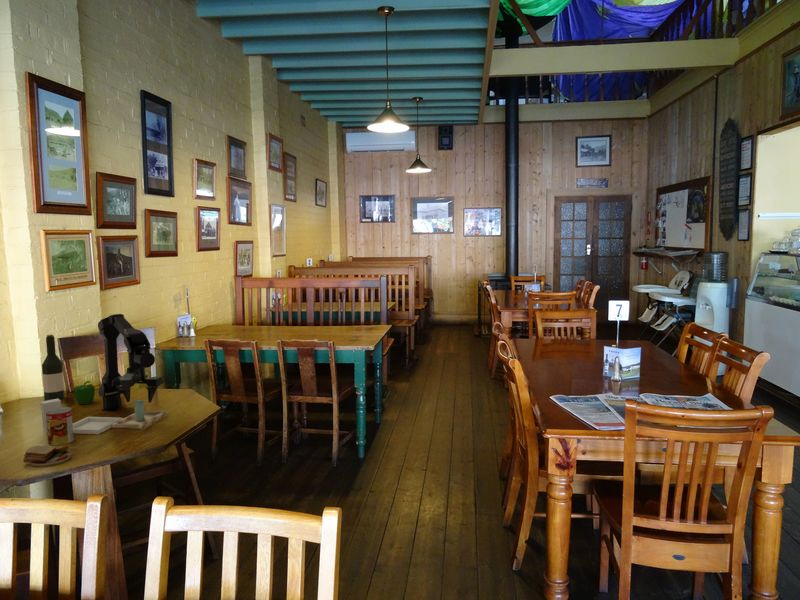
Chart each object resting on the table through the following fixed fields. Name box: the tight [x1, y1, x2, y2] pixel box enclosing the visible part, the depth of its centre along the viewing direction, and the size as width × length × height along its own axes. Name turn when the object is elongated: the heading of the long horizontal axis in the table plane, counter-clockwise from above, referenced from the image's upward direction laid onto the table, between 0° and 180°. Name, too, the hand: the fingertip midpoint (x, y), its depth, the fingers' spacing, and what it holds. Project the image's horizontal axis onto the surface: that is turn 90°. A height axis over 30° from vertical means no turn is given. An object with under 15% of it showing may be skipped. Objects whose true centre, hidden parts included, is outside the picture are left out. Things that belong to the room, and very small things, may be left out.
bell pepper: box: [73, 380, 96, 405], centre depth 255 cm, size 8×8×10 cm
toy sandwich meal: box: [22, 443, 73, 468], centre depth 188 cm, size 12×14×5 cm
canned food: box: [46, 406, 74, 447], centre depth 204 cm, size 8×8×12 cm
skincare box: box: [40, 399, 62, 434], centre depth 217 cm, size 6×4×12 cm
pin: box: [133, 399, 145, 422], centre depth 227 cm, size 3×3×8 cm
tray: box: [111, 410, 167, 430], centre depth 227 cm, size 18×12×2 cm, turn 172°
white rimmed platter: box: [72, 416, 123, 435], centre depth 220 cm, size 15×15×2 cm
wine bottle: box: [41, 334, 66, 401], centre depth 261 cm, size 8×8×30 cm
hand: (139, 402), depth 226 cm, fingers open, 9 cm apart
